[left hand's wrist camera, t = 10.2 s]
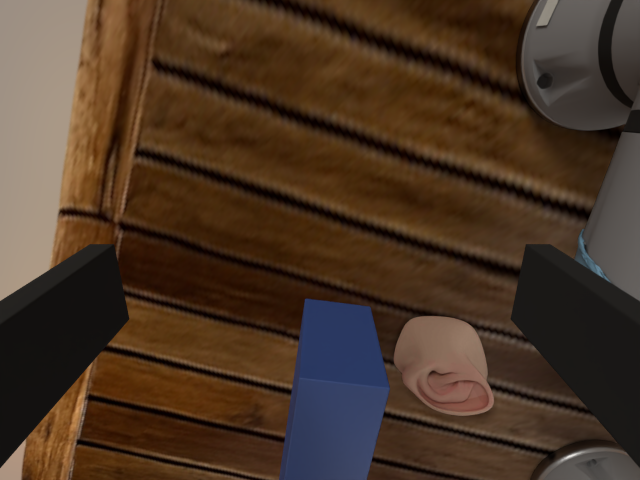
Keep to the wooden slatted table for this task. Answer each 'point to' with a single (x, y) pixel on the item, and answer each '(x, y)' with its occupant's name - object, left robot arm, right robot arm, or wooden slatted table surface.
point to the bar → (335, 395)
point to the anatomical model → (444, 365)
